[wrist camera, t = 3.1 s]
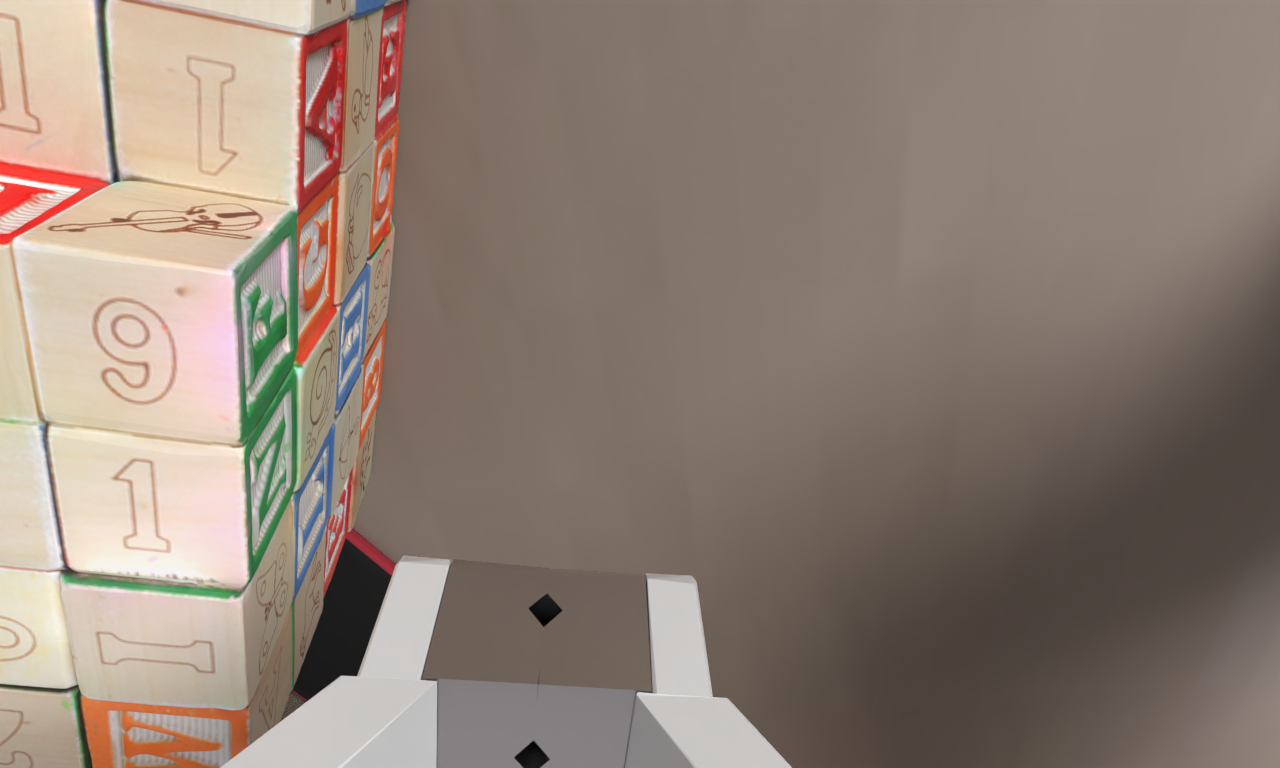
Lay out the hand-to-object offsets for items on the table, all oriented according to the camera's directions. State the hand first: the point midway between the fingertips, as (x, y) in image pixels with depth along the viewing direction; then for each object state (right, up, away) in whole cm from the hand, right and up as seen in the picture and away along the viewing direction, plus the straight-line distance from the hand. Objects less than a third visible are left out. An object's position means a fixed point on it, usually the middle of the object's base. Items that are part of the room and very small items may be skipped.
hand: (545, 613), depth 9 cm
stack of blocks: (-9, +9, +15) cm, 19 cm away
